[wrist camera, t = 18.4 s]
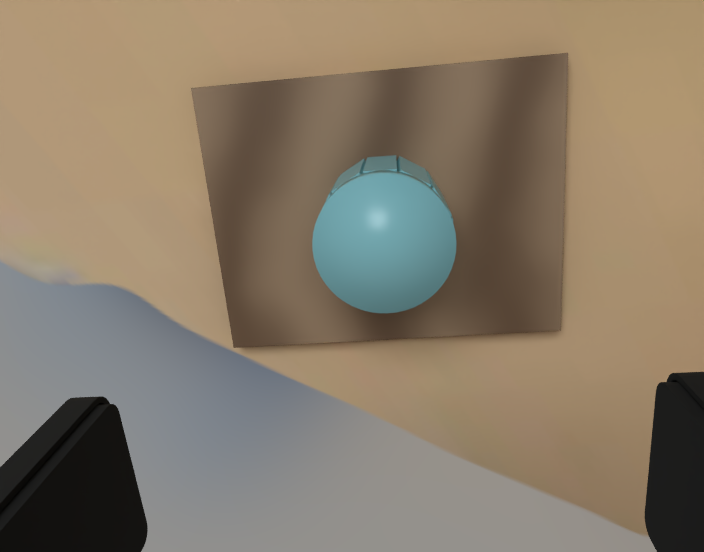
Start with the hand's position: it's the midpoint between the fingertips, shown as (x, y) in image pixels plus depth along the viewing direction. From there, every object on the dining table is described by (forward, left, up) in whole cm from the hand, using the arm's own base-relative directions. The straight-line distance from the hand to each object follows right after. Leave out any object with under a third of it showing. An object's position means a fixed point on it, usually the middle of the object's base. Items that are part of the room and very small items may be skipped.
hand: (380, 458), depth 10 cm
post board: (0, 0, -22) cm, 22 cm away
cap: (0, 0, -21) cm, 21 cm away
